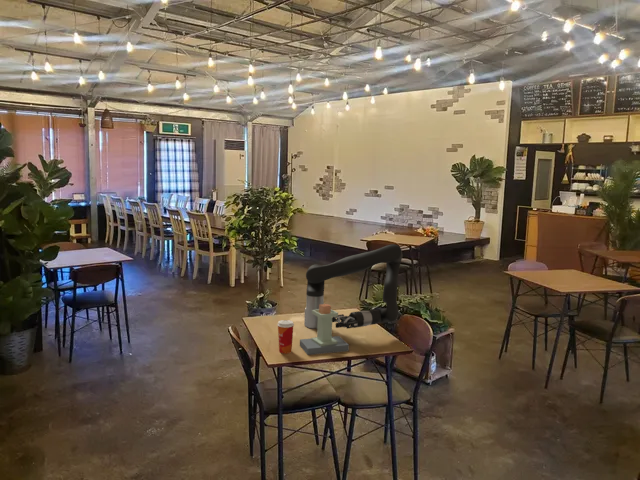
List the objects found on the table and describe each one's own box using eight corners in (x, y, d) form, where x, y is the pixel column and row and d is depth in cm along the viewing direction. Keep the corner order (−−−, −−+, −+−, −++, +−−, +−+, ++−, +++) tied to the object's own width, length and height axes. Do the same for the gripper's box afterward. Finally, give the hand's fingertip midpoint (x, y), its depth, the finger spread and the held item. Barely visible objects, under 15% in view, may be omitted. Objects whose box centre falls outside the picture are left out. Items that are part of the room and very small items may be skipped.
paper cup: (276, 348, 236) (277, 319, 234) (293, 348, 236) (293, 319, 235) (276, 354, 228) (277, 324, 226) (293, 354, 229) (294, 324, 227)
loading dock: (307, 355, 228) (307, 348, 228) (299, 345, 241) (299, 339, 240) (348, 350, 235) (348, 344, 234) (339, 341, 247) (339, 335, 247)
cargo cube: (318, 312, 236) (319, 304, 236) (326, 311, 238) (326, 303, 238) (323, 315, 233) (323, 306, 232) (330, 314, 235) (330, 305, 234)
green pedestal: (311, 340, 239) (312, 310, 237) (328, 337, 243) (328, 308, 241) (320, 346, 231) (321, 315, 229) (337, 343, 236) (338, 312, 234)
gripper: (353, 307, 251) (324, 311, 244) (368, 315, 239) (339, 319, 231) (352, 322, 252) (324, 326, 245) (368, 330, 240) (338, 335, 232)
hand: (331, 323), depth 238 cm, fingers open, 8 cm apart
